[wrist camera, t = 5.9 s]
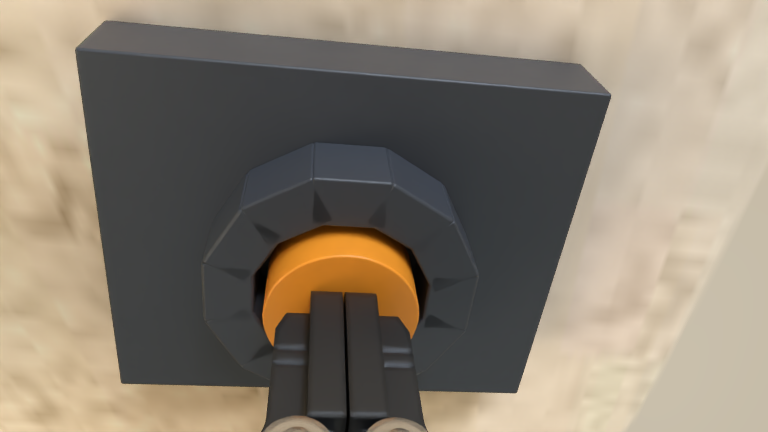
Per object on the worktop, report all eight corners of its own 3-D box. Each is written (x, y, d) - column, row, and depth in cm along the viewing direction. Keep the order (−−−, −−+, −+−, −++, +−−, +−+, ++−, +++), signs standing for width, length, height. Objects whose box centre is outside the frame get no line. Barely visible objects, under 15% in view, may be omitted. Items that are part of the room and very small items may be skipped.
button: (420, 217, 15) (430, 259, 14) (401, 329, 17) (408, 377, 16) (269, 208, 15) (263, 251, 14) (266, 324, 17) (260, 373, 15)
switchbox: (581, 63, 17) (645, 126, 13) (501, 345, 22) (532, 441, 19) (103, 19, 15) (41, 77, 12) (139, 332, 21) (102, 435, 17)
